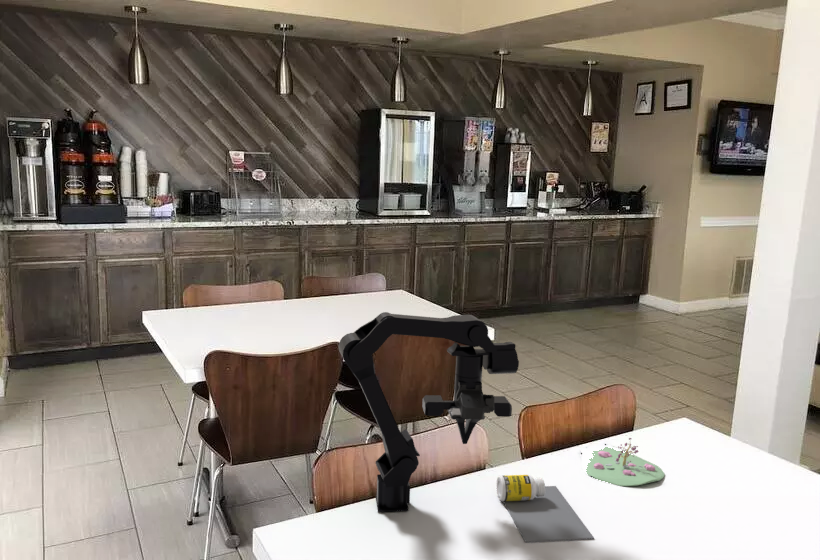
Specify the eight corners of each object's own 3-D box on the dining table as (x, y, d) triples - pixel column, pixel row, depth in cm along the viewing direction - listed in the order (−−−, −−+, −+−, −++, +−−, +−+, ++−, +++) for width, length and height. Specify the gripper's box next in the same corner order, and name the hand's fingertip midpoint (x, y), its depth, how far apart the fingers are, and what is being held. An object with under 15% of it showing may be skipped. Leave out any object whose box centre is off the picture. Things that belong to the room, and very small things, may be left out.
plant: (553, 450, 174) (555, 417, 173) (620, 442, 181) (622, 410, 179) (609, 494, 151) (612, 457, 149) (683, 483, 157) (687, 447, 156)
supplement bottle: (500, 471, 144) (543, 470, 145) (494, 480, 148) (536, 479, 150) (504, 496, 141) (548, 494, 142) (498, 504, 145) (541, 503, 146)
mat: (525, 542, 129) (525, 541, 129) (496, 489, 150) (496, 488, 150) (594, 539, 131) (594, 537, 131) (555, 487, 152) (555, 485, 152)
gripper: (430, 385, 133) (426, 458, 135) (520, 386, 135) (515, 459, 137) (423, 369, 144) (420, 437, 146) (507, 370, 146) (503, 438, 148)
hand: (464, 443), depth 144 cm, fingers closed
